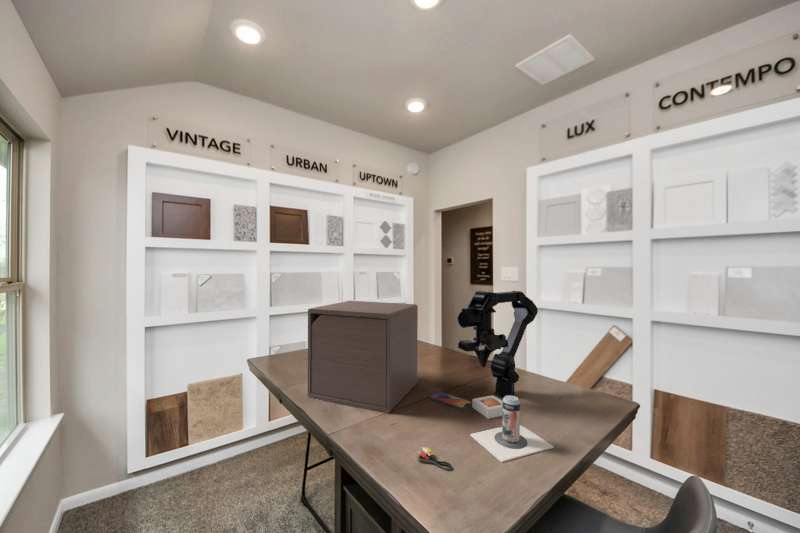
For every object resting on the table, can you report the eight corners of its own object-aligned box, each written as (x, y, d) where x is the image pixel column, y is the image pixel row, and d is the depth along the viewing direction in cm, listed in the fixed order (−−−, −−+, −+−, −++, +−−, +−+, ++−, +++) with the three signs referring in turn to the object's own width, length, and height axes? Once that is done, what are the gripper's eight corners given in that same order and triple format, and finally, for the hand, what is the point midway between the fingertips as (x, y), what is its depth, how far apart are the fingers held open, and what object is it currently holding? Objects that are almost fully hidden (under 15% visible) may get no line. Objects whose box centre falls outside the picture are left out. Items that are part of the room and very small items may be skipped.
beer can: (498, 437, 93) (499, 396, 93) (509, 433, 95) (509, 393, 95) (512, 445, 89) (512, 402, 89) (523, 440, 91) (523, 399, 91)
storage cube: (307, 397, 121) (307, 307, 121) (347, 373, 148) (347, 300, 148) (389, 414, 108) (390, 313, 108) (417, 384, 135) (417, 304, 135)
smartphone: (440, 393, 127) (440, 391, 127) (473, 404, 117) (472, 401, 117) (428, 399, 122) (428, 396, 122) (461, 411, 111) (461, 408, 111)
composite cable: (454, 469, 80) (454, 459, 80) (442, 477, 76) (442, 467, 76) (425, 452, 87) (425, 443, 87) (412, 459, 84) (412, 450, 84)
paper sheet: (517, 424, 102) (517, 422, 102) (553, 447, 89) (553, 445, 89) (470, 435, 95) (470, 433, 95) (501, 462, 82) (501, 460, 82)
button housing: (492, 403, 117) (492, 395, 117) (509, 414, 109) (509, 405, 109) (472, 407, 114) (472, 399, 114) (488, 418, 105) (488, 409, 105)
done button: (491, 403, 114) (492, 397, 114) (501, 408, 110) (501, 403, 110) (480, 405, 112) (480, 399, 112) (489, 411, 108) (489, 405, 108)
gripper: (475, 331, 107) (475, 377, 107) (518, 327, 114) (518, 370, 114) (457, 325, 118) (457, 367, 118) (498, 322, 125) (498, 361, 125)
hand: (483, 366), depth 118 cm, fingers closed
